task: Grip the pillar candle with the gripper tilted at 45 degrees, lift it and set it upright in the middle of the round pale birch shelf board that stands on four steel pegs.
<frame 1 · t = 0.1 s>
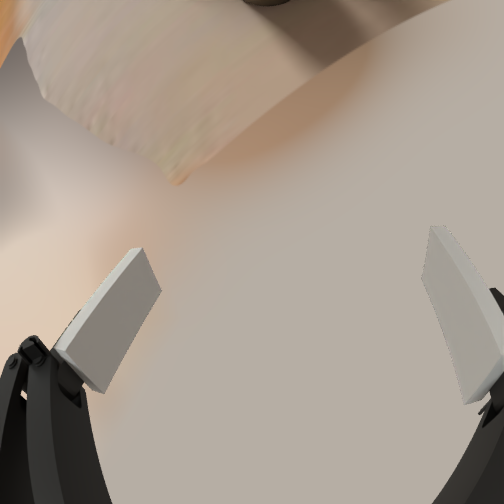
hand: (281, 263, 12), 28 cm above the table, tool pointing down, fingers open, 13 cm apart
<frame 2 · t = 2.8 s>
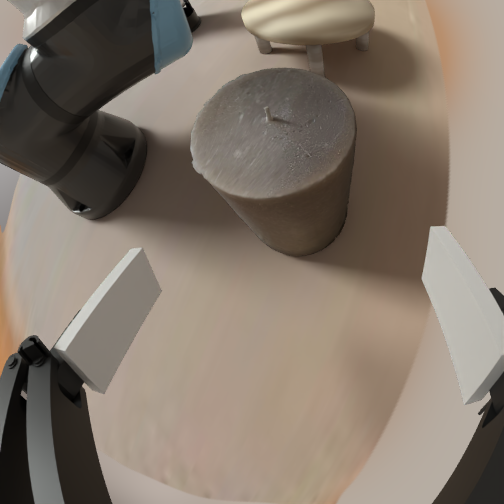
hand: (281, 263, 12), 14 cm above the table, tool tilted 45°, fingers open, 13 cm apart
pillar candle: (296, 207, 27), on the table
french press: (177, 31, 41), on the table
peg shelf: (314, 46, 31), on the table
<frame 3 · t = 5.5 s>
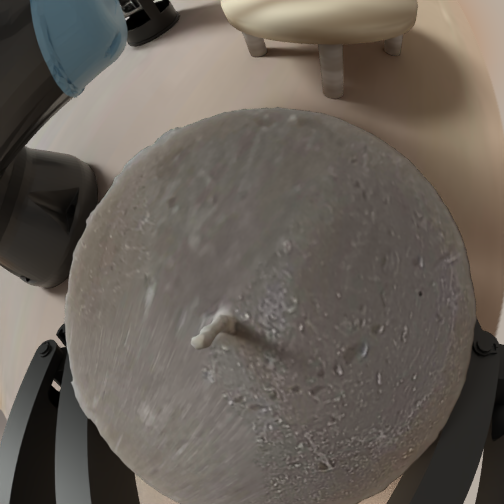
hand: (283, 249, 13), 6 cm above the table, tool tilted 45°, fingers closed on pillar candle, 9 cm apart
pillar candle: (297, 315, 18), on the table, touching gripper
french press: (151, 31, 31), on the table
peg shelf: (326, 47, 22), on the table
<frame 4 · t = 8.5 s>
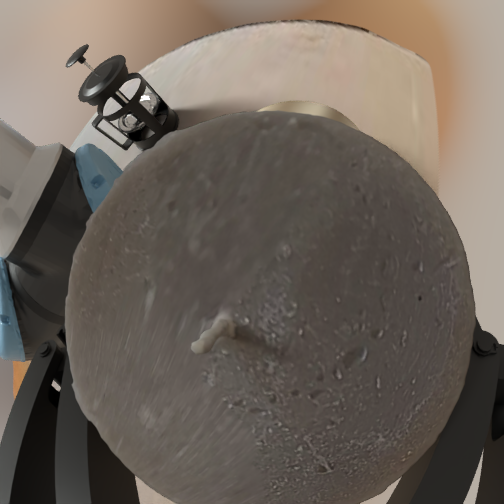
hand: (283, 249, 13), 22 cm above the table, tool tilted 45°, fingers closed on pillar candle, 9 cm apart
pillar candle: (297, 316, 18), point 16 cm above the table, touching gripper
french press: (155, 132, 46), on the table
peg shelf: (300, 187, 36), on the table
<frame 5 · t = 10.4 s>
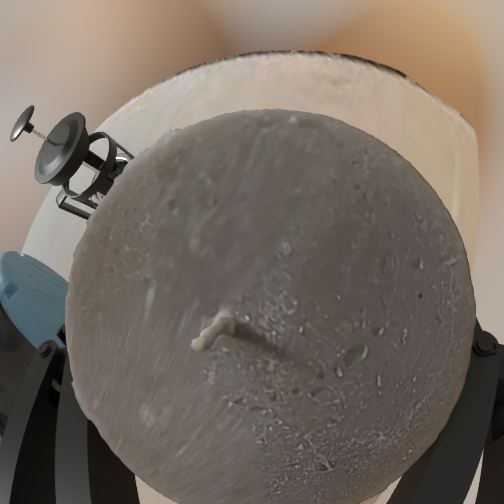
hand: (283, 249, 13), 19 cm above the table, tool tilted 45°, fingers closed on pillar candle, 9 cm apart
pillar candle: (297, 316, 18), point 13 cm above the table, touching gripper
french press: (135, 199, 40), on the table
when the fingers open (15 cm above the table, at t = 11.7 s): pillar candle drops 1 cm, resting on peg shelf.
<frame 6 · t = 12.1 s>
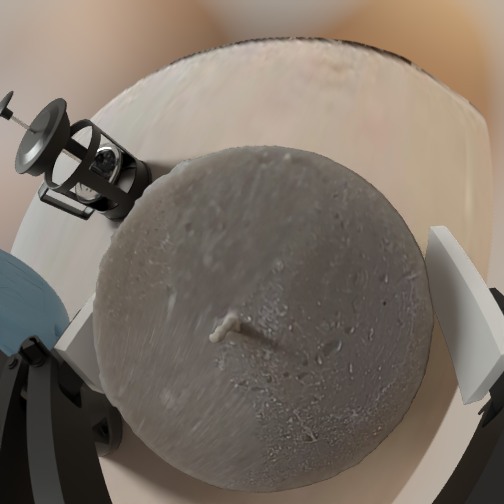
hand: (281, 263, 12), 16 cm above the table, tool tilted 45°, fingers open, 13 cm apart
pillar candle: (294, 316, 19), point 8 cm above the table, touching peg shelf
french press: (124, 193, 36), on the table
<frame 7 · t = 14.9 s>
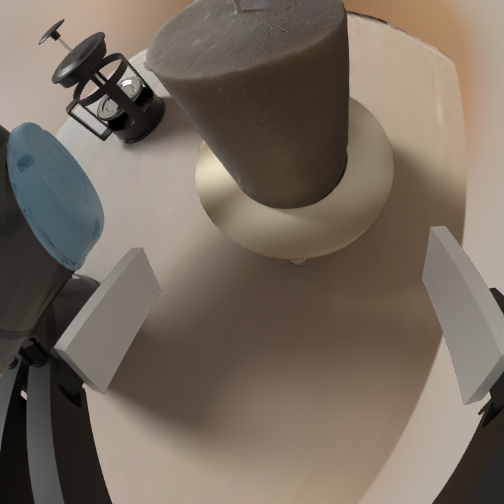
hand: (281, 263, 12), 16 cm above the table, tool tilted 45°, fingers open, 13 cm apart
pillar candle: (287, 156, 22), point 8 cm above the table, touching peg shelf
french press: (138, 122, 39), on the table
peg shelf: (300, 192, 29), on the table
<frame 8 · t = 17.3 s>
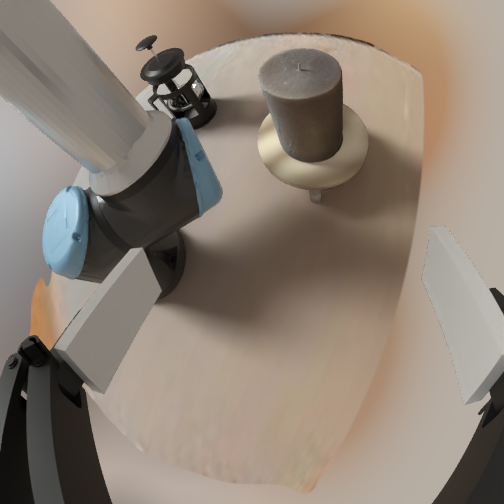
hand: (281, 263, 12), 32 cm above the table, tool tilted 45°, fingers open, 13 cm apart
pillar candle: (310, 136, 39), point 8 cm above the table, touching peg shelf
french press: (195, 115, 56), on the table
peg shelf: (315, 161, 46), on the table
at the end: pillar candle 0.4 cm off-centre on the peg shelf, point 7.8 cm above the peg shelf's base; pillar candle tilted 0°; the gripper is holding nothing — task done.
